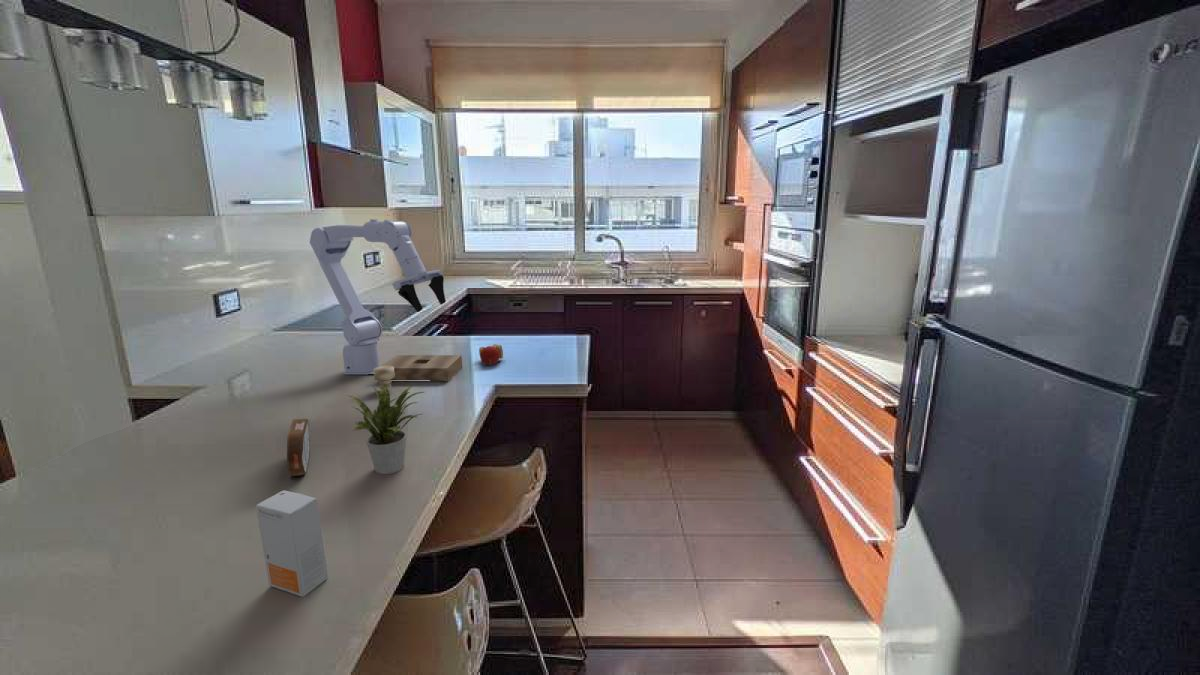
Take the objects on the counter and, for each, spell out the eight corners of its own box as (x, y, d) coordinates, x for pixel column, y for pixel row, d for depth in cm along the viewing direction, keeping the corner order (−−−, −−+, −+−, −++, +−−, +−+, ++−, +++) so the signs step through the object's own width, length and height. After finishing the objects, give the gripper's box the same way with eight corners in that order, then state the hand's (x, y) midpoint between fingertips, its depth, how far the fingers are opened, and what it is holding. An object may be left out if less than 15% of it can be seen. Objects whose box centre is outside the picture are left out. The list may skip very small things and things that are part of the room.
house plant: (447, 468, 103) (441, 386, 99) (375, 495, 93) (365, 406, 90) (412, 446, 113) (405, 370, 109) (343, 468, 103) (332, 386, 99)
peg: (372, 392, 146) (370, 371, 145) (380, 386, 151) (378, 365, 150) (391, 392, 146) (389, 371, 144) (399, 386, 151) (397, 365, 150)
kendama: (482, 356, 186) (474, 364, 168) (484, 338, 186) (477, 344, 168) (504, 360, 187) (499, 368, 169) (507, 342, 186) (502, 348, 168)
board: (379, 381, 155) (377, 368, 155) (398, 367, 169) (397, 355, 168) (448, 381, 155) (447, 368, 154) (462, 367, 168) (461, 355, 167)
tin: (297, 452, 111) (291, 413, 109) (314, 449, 112) (309, 410, 110) (288, 485, 97) (281, 441, 95) (308, 482, 98) (301, 438, 97)
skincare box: (268, 587, 71) (253, 504, 68) (296, 567, 75) (283, 488, 72) (302, 599, 69) (289, 514, 66) (330, 578, 73) (318, 496, 70)
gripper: (392, 261, 141) (415, 308, 142) (438, 250, 152) (460, 294, 152) (381, 272, 146) (404, 317, 146) (427, 261, 157) (448, 303, 157)
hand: (431, 306), depth 150 cm, fingers open, 7 cm apart
